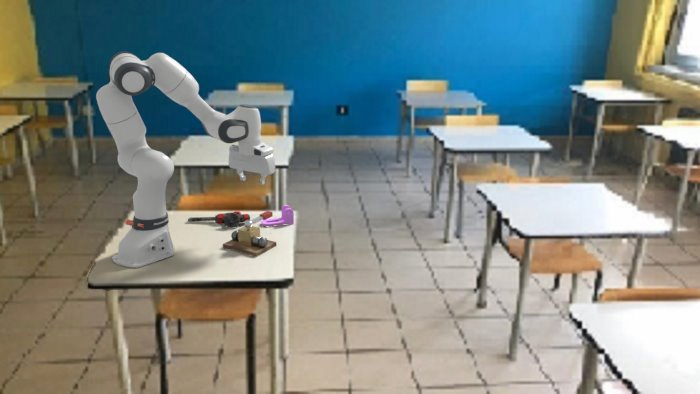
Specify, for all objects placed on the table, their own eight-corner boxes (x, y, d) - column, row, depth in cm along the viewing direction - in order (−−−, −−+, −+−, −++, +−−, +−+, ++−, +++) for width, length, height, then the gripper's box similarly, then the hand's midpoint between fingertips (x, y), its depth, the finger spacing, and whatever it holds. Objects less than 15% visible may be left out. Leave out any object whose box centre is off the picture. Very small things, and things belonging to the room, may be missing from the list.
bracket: (290, 219, 257) (289, 204, 255) (293, 224, 252) (293, 208, 250) (260, 223, 253) (259, 207, 250) (262, 228, 248) (262, 212, 245)
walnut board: (256, 257, 220) (256, 253, 220) (222, 247, 228) (222, 244, 227) (276, 245, 230) (276, 242, 230) (243, 237, 238) (243, 233, 237)
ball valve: (260, 250, 223) (260, 233, 221) (229, 242, 230) (228, 225, 228) (270, 245, 227) (269, 228, 225) (239, 237, 234) (238, 221, 232)
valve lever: (249, 228, 224) (249, 223, 224) (243, 226, 226) (243, 221, 225) (272, 216, 236) (272, 211, 236) (267, 215, 238) (267, 210, 237)
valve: (255, 220, 261) (247, 228, 247) (196, 221, 263) (185, 229, 248) (254, 205, 260) (246, 213, 245) (195, 207, 262) (184, 214, 247)
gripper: (223, 145, 231) (226, 180, 236) (266, 152, 222) (268, 188, 226) (234, 142, 237) (236, 176, 241) (276, 149, 227) (278, 184, 232)
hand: (252, 182), depth 234 cm, fingers open, 8 cm apart
